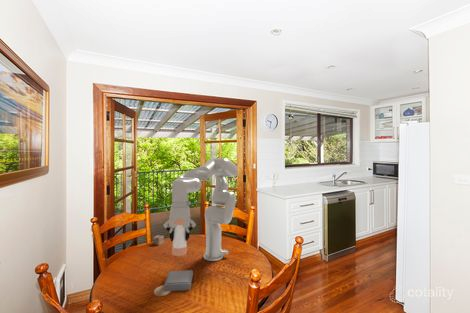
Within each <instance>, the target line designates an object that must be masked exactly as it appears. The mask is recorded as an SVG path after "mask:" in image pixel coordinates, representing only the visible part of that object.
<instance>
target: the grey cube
mask: <svg viewBox="0 0 470 313" xmlns="http://www.w3.org/2000/svg"><path fill="white" fill-rule="evenodd" d="M164 237H165V236H164V235H161V234H157V235H155V236H154V237H153V242H152V243H153V245H155V246H160V245H162V244H164V243H165V240H164V239H165V238H164Z"/></svg>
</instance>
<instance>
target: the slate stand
mask: <svg viewBox="0 0 470 313" xmlns="http://www.w3.org/2000/svg"><path fill="white" fill-rule="evenodd" d="M193 276H194V274H193V270H192V269H191V270H188V269H187V270H170V271H169V272H168V274H167V277H166V278H165V279H166V280H165V282H164V284H163V285H164V291H171V292H173V291H174V292H175V291H191V289H192V288H191V286H192V282H193Z"/></svg>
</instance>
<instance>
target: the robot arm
mask: <svg viewBox="0 0 470 313" xmlns="http://www.w3.org/2000/svg"><path fill="white" fill-rule="evenodd" d="M238 172H239V167H238V166H237V164H235V163H234V162H233V161H231V160H230V159H229V158H225V157H221V158H220V157H214V158H213V157H212V158H211V159H209V160H208V161H206V162H205V163H204V164H202V165H201V166H199V167H196V168H193V169H191V170H188V171H185V172H183V173H182V174H180V175H179V176H178V177H177V178H176V179H173V180H172V186H171V187H172V189H171V190H172V191H171V195H172V197H171V205H172V206H170V210H169V218H168V220H167V221H166V222H165V223H163V227H164V229H165V230H166V231H167V232H168V233H169V240H170V242H173V237H174V229H175V228H176V227H177V225H176V224H175V223H174V222H175V220H177V219H183V220H184V221H185V224H183V228H185V229H186V242H188V240H189V239H190V232H191V231H192V230H193V229H194V228H195V227H196V226H197V223H196V222H195V221H194V220H193V219H192V218H191V208H190V205H191V203H192V202H191V201H189V199H188V198H189V196H188V194H189V193H190V194H191V193H197V192H199V191H200V190H201V188H202V182H203V181H207V180H209V179H210V178H212V176H213V175H214V177H215V181H216V183H215V186H214V190H213V194H212V197H211V202H212V204H214V205H216V206H214V205H210V206H208V207H206V209H205V210H204V219H205V220H204V221H205V231H206V232H205V252H204V254H203V259H204V260H206V261H209V262H218V261H219V260H222V259H223V258H224V255H229V250H227V249H222V227H221V226H222V224H224V225H229V224H230V223H231V221H232V218H233V214H234V210H235V208H236V204H237V196H236V193H234V192H233V191H228V190H229V183H228V182H229V181H228V180H227V178H235V177H236V176H238V174H239V173H238ZM190 224H191V225H190Z"/></svg>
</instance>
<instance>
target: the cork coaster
mask: <svg viewBox="0 0 470 313" xmlns="http://www.w3.org/2000/svg"><path fill="white" fill-rule="evenodd" d="M171 292H172V291H164V284H163V285H160V286H158V287H156V288H155V289H154V290H153V294H154V295H155V296H157V297H164V296H167V295H169V294H170V293H171Z"/></svg>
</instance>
